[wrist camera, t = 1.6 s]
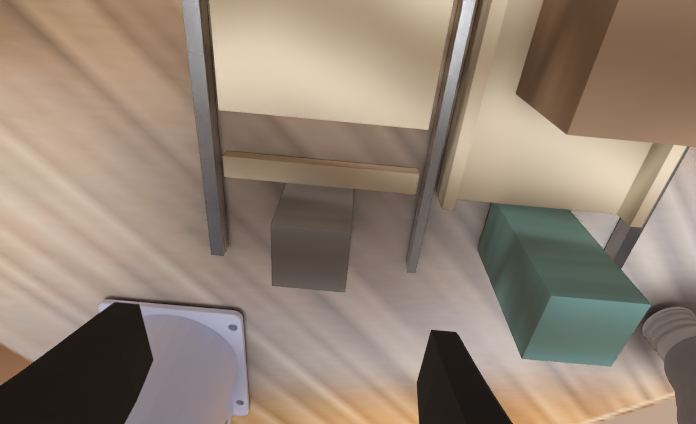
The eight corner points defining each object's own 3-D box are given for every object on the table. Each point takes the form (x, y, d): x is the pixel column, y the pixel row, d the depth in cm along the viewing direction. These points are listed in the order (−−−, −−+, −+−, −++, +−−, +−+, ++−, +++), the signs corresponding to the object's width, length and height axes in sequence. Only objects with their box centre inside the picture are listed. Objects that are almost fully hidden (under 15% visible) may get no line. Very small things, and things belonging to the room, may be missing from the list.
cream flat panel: (404, 241, 20) (412, 298, 16) (232, 226, 20) (204, 279, 16) (469, -102, 13) (508, -129, 9) (204, -128, 13) (144, -166, 9)
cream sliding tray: (594, 260, 20) (684, 372, 14) (424, 244, 20) (447, 351, 14) (773, -92, 12) (1103, -146, 7) (505, -119, 12) (620, -195, 7)
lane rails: (601, 279, 20) (609, 290, 20) (216, 245, 20) (211, 254, 20) (793, -79, 13) (817, -82, 12) (175, -141, 12) (164, -148, 12)
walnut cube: (631, 104, 15) (722, 149, 11) (515, 93, 15) (566, 134, 11) (695, -33, 13) (836, -36, 9) (557, -47, 13) (640, -56, 9)
